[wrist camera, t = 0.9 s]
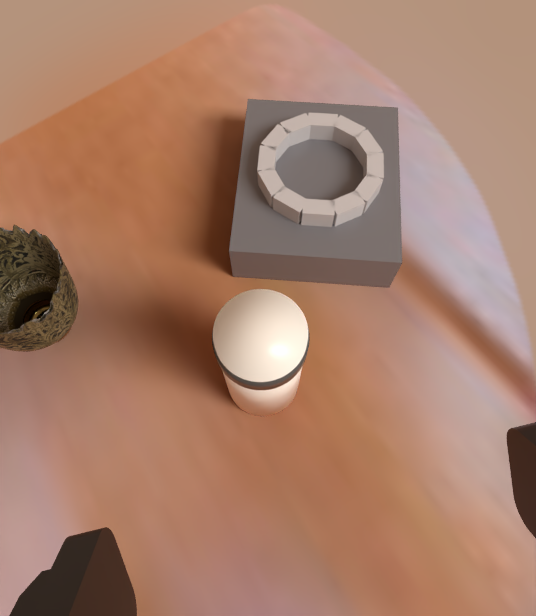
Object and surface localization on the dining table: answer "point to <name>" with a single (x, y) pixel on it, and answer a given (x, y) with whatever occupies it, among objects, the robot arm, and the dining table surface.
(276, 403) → the domed cylinder with band
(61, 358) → the dining table surface
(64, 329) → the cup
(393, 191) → the square base with ring
